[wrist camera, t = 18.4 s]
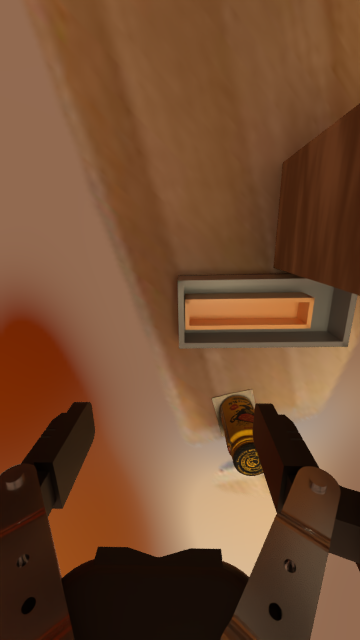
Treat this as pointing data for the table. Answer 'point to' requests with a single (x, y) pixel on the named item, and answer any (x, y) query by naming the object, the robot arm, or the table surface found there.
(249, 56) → the table surface
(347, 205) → the walnut stand
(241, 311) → the narrow crate
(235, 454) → the condiment
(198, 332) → the charcoal crate
